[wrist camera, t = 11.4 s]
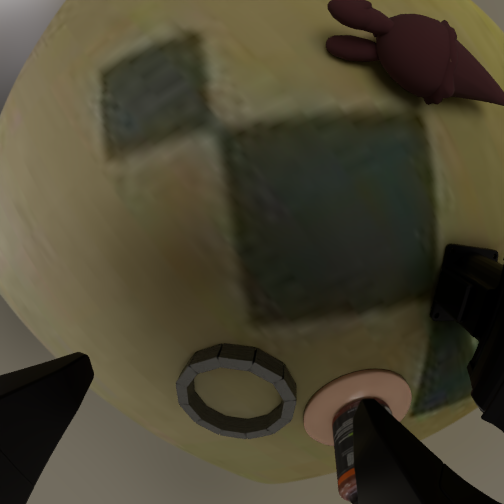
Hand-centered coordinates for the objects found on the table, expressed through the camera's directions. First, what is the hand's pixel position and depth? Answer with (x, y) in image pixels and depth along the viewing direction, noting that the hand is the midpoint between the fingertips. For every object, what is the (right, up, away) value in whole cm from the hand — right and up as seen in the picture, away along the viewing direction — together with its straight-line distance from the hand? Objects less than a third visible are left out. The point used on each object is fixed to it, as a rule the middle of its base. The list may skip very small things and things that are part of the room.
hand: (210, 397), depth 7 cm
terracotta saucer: (+12, -11, +15) cm, 22 cm away
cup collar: (0, -8, +16) cm, 18 cm away
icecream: (+14, +18, +7) cm, 24 cm away
